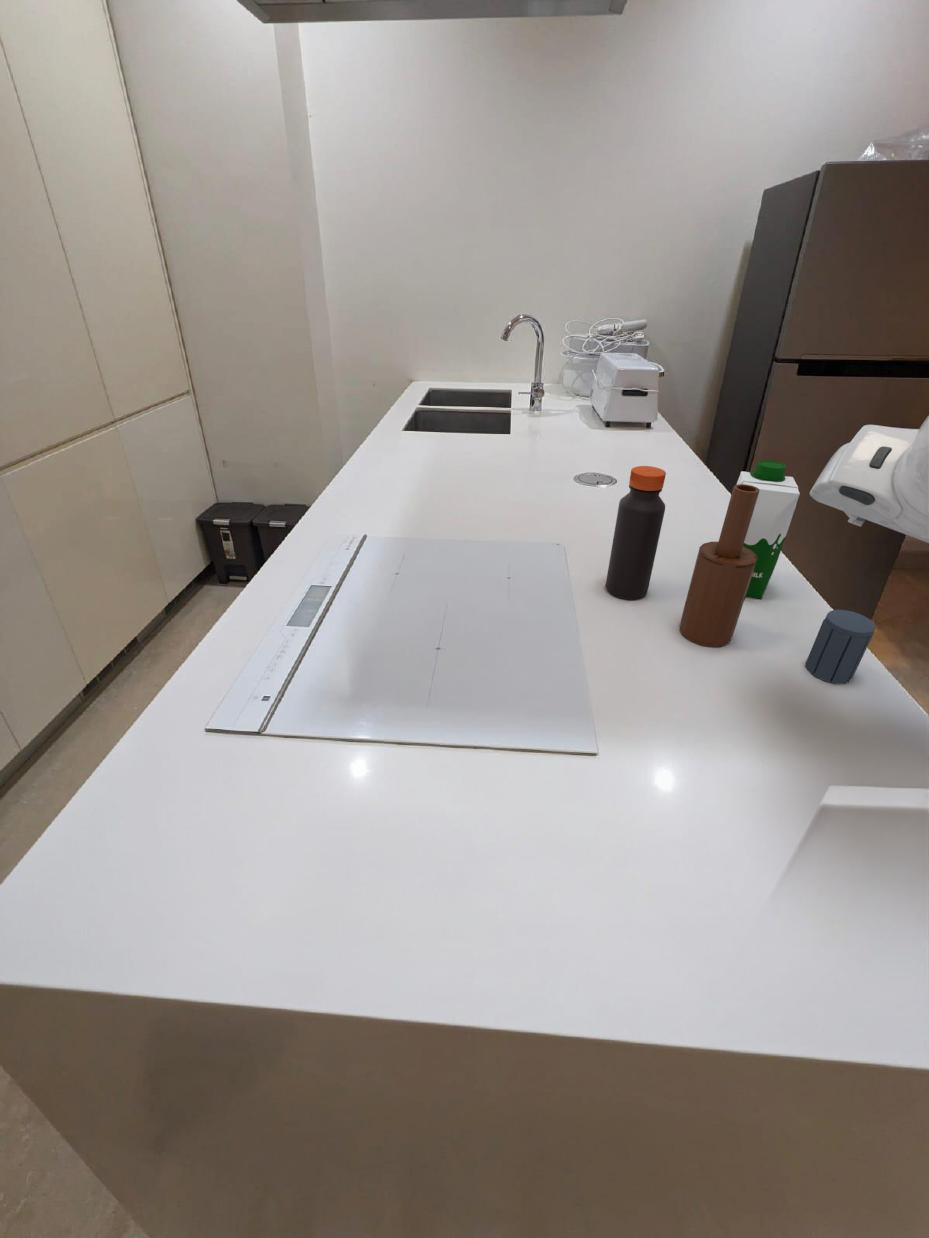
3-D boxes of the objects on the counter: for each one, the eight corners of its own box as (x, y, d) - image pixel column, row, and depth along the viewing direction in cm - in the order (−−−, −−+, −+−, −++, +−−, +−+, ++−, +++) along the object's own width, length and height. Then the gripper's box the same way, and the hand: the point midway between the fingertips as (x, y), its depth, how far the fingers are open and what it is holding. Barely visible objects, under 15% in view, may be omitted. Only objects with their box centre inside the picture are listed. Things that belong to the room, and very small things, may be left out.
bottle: (703, 615, 89) (743, 475, 77) (742, 639, 83) (790, 493, 72) (668, 626, 86) (704, 483, 74) (706, 652, 81) (750, 502, 69)
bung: (838, 659, 80) (860, 610, 75) (859, 684, 75) (885, 633, 71) (798, 658, 80) (819, 608, 75) (818, 683, 75) (840, 631, 71)
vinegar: (633, 605, 91) (658, 482, 80) (596, 590, 95) (615, 470, 84) (654, 590, 95) (681, 471, 84) (618, 576, 99) (639, 460, 88)
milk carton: (763, 578, 99) (801, 463, 89) (768, 603, 92) (810, 481, 81) (709, 569, 102) (740, 456, 91) (710, 593, 95) (743, 474, 84)
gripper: (1115, 501, 46) (1032, 551, 59) (847, 418, 55) (823, 477, 68) (1071, 569, 47) (997, 604, 59) (811, 475, 56) (794, 523, 68)
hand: (903, 536), depth 63 cm, fingers open, 8 cm apart
